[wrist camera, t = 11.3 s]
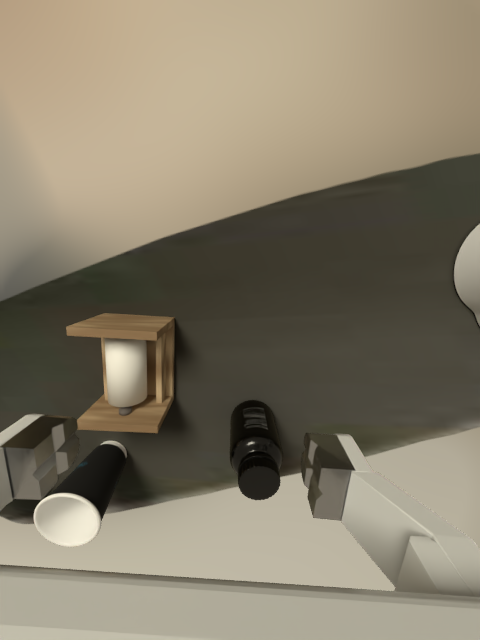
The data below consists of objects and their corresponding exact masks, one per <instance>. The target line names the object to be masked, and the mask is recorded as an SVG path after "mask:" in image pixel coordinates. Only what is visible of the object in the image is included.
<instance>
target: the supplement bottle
mask: <svg viewBox="0 0 480 640" xmlns="http://www.w3.org/2000/svg"><path fill="white" fill-rule="evenodd" d="M282 461H283V453H282V448H281V444H280V440H279V436H278V432H277V428H276V424H275V420H274V417H273V413H272V411H271V409H270V408H269V407H268V406H267V405H266V404H264V403H262V402H260V401H256V400H249V401H245V402H243V403H241V404H239V405H238V406H237V407H236V408H235V409H234V411H233V413H232V416H231V429H230V462H231V466H232V468H233V470H234V471H235V472H236V474H237V475H238V484H239V488H240V490H241V492H242V494H244V495H245V496H246V497H248V498H251V499H254V500H264V499H268V498H269V497H271V496H272V495H274V494H275V493H276V492H277V490H278V489H279V486H280V476H279V469H280V467H281V465H282Z"/></svg>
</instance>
